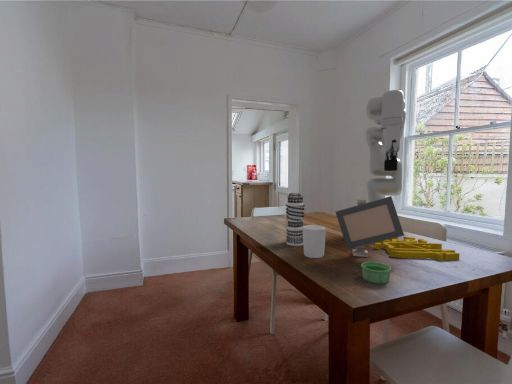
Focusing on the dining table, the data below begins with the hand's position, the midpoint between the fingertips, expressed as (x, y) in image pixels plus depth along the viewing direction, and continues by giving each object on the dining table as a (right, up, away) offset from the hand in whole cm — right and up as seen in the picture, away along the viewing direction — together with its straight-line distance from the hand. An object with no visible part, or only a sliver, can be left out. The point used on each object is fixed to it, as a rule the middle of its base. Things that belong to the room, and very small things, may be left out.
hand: (390, 170), depth 105 cm
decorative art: (+17, -35, +18) cm, 43 cm away
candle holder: (-28, -35, +9) cm, 46 cm away
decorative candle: (-33, -34, +28) cm, 55 cm away
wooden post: (-9, -35, +8) cm, 37 cm away
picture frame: (-5, -29, +3) cm, 29 cm away
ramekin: (-14, -37, -17) cm, 43 cm away
